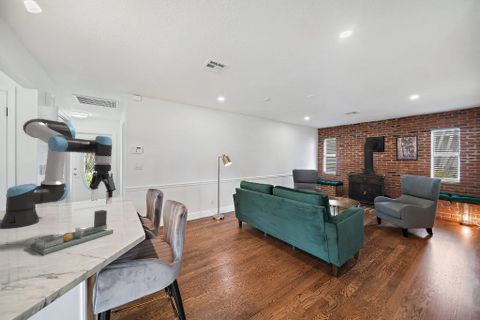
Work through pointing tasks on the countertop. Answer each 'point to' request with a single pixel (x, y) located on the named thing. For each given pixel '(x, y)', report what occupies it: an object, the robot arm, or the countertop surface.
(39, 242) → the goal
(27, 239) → the countertop surface
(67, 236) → the ball
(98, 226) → the block
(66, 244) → the grey-green channel tray
